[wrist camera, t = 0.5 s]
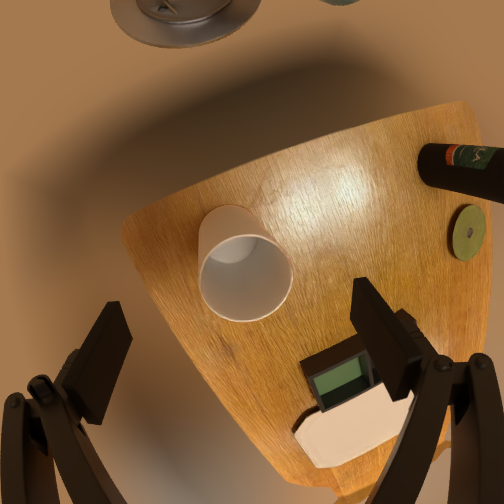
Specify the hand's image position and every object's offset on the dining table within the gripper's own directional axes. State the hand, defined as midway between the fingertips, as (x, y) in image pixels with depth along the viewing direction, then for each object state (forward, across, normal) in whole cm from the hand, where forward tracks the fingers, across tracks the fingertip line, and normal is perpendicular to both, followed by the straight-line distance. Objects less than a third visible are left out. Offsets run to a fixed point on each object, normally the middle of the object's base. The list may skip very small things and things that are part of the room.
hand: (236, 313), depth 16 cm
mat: (+30, +44, -10) cm, 54 cm away
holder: (+25, +20, -31) cm, 44 cm away
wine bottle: (+30, +34, +3) cm, 45 cm away
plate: (+24, +23, -53) cm, 62 cm away
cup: (+25, -1, -4) cm, 25 cm away
